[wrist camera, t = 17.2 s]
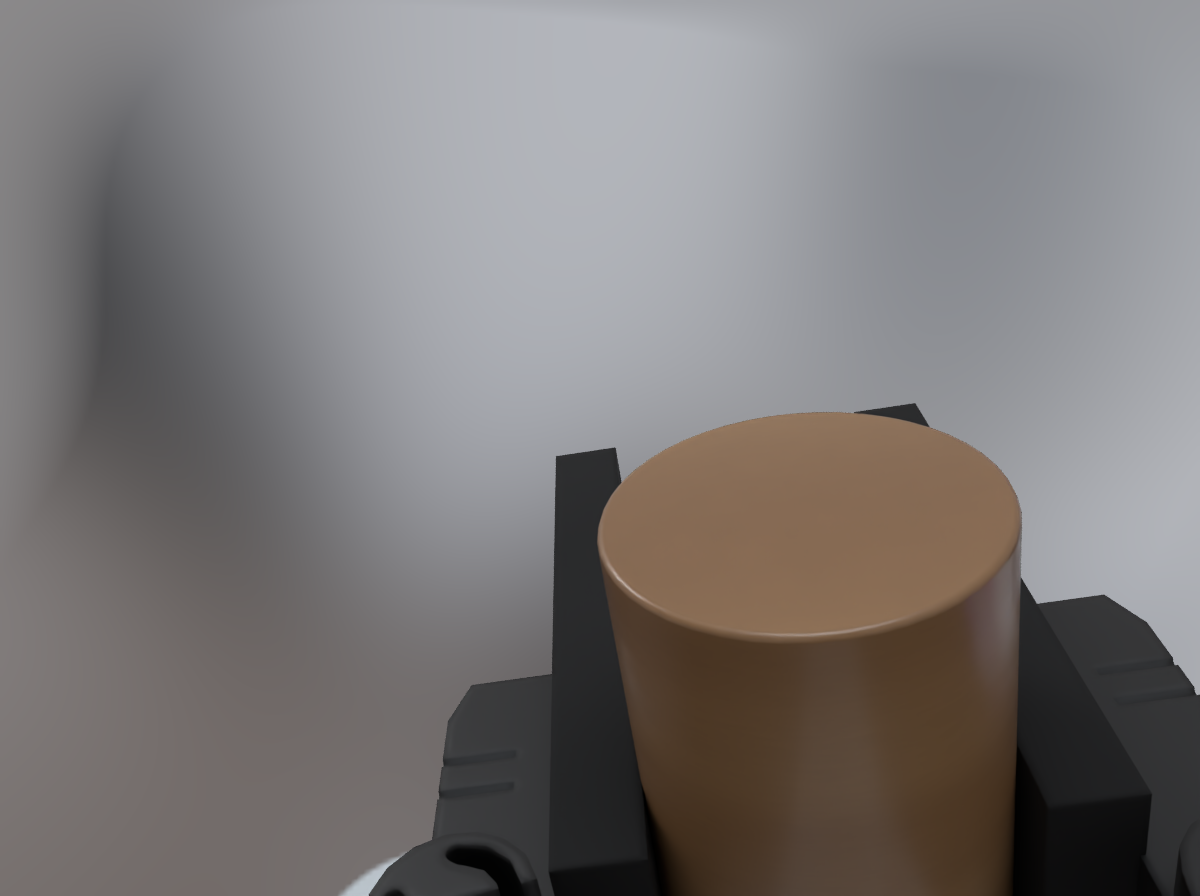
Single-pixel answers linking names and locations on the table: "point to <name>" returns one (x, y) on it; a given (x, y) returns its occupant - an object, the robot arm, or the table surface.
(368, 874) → the table surface
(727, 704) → the wooden rubber stamp
